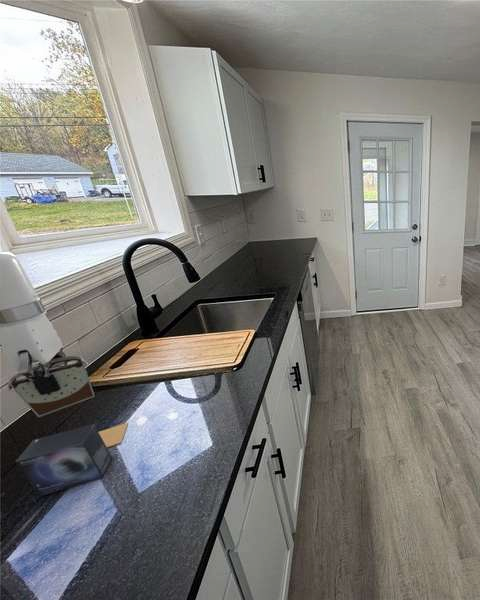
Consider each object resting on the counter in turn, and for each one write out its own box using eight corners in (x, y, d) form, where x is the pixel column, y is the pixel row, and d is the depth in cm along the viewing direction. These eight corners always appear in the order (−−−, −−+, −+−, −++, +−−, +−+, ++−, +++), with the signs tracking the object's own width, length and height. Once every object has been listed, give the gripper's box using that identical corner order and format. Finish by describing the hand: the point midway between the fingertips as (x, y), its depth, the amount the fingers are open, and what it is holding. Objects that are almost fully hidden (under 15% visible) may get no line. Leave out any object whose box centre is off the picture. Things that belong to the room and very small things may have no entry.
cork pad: (50, 467, 72) (49, 466, 72) (63, 444, 79) (63, 443, 78) (121, 443, 78) (120, 442, 78) (128, 423, 84) (127, 422, 84)
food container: (102, 383, 80) (85, 348, 76) (103, 393, 75) (84, 357, 72) (32, 407, 72) (9, 371, 68) (28, 421, 68) (3, 382, 64)
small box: (38, 499, 65) (12, 462, 61) (56, 474, 70) (32, 439, 66) (102, 479, 68) (81, 442, 64) (114, 456, 74) (95, 422, 70)
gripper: (14, 304, 70) (52, 370, 77) (-37, 333, 56) (15, 412, 63) (58, 296, 74) (91, 360, 80) (21, 322, 59) (65, 398, 66)
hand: (57, 382), depth 72 cm, fingers closed on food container, 6 cm apart
